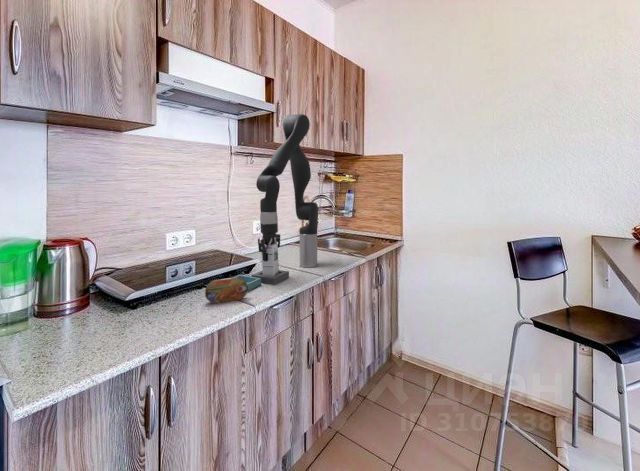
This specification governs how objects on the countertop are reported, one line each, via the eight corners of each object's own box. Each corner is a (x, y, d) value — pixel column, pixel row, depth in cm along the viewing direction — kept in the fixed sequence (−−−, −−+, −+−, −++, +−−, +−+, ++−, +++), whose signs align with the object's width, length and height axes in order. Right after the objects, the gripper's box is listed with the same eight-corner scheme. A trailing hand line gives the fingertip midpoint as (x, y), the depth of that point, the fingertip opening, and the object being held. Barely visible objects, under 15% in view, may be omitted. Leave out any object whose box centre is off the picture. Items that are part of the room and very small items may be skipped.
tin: (206, 305, 111) (204, 282, 109) (205, 302, 113) (204, 279, 112) (248, 299, 116) (247, 277, 115) (246, 296, 119) (246, 275, 118)
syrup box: (274, 278, 137) (273, 245, 134) (262, 277, 138) (260, 245, 135) (279, 274, 142) (278, 243, 140) (266, 273, 143) (265, 242, 141)
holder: (267, 274, 148) (267, 268, 147) (289, 277, 143) (288, 271, 142) (251, 281, 137) (251, 274, 137) (274, 285, 132) (274, 278, 131)
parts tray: (239, 281, 137) (239, 274, 137) (261, 285, 132) (260, 278, 132) (220, 289, 127) (220, 282, 126) (243, 293, 122) (243, 286, 121)
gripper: (271, 219, 144) (272, 255, 147) (251, 223, 131) (253, 262, 134) (285, 220, 140) (285, 256, 143) (266, 224, 128) (267, 264, 131)
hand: (270, 259), depth 139 cm, fingers closed on syrup box, 6 cm apart
